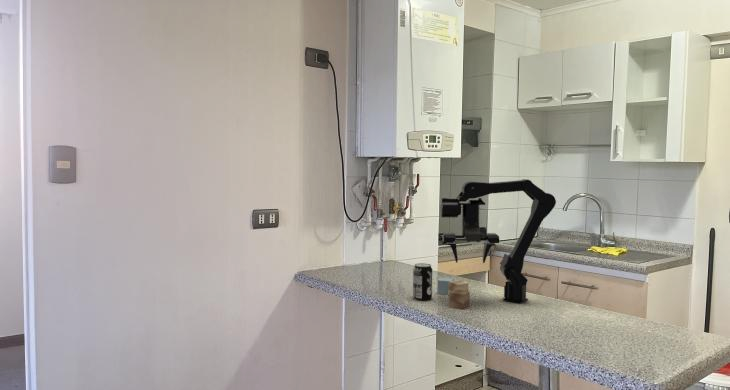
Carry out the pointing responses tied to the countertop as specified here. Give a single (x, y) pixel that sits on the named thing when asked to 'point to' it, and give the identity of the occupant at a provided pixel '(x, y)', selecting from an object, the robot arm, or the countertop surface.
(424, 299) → the beverage can
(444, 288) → the slate block
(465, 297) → the walnut block
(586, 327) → the countertop surface
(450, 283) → the oak block
